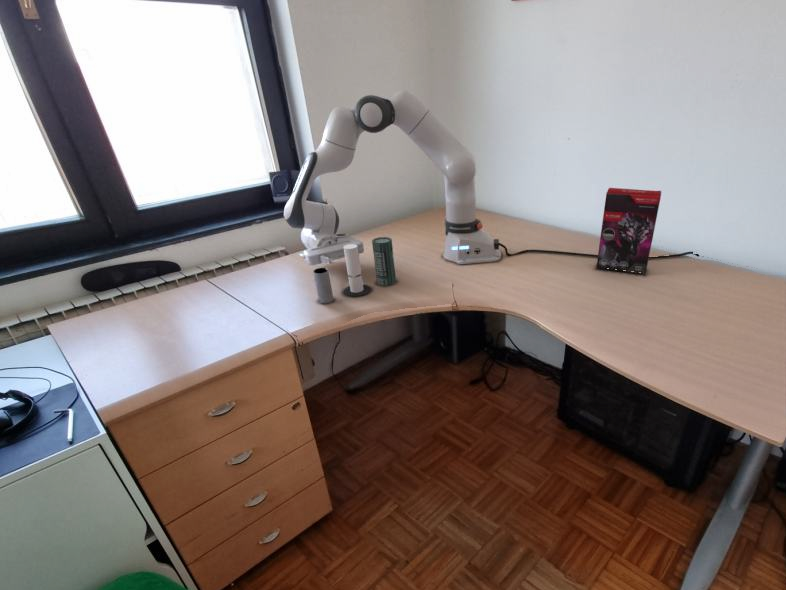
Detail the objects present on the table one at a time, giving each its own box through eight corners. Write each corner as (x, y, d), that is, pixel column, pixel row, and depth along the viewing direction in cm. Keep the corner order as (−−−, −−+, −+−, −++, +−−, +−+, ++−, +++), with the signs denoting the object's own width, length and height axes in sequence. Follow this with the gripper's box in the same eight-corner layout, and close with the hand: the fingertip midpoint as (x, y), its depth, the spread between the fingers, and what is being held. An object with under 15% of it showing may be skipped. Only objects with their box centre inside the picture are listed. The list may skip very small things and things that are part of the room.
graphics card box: (594, 269, 163) (606, 191, 148) (597, 262, 168) (608, 186, 154) (645, 276, 157) (662, 195, 143) (646, 268, 163) (662, 190, 148)
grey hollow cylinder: (336, 298, 147) (331, 268, 142) (328, 304, 143) (322, 274, 138) (324, 296, 148) (318, 266, 143) (316, 302, 145) (310, 272, 139)
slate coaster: (373, 285, 155) (373, 284, 155) (368, 296, 148) (368, 295, 147) (347, 285, 155) (347, 284, 155) (341, 297, 148) (340, 295, 148)
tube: (351, 287, 153) (344, 244, 145) (364, 286, 153) (357, 243, 145) (349, 292, 149) (342, 249, 142) (362, 292, 150) (356, 248, 142)
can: (398, 280, 158) (394, 238, 150) (389, 287, 154) (384, 244, 146) (383, 277, 161) (379, 236, 153) (374, 284, 156) (368, 241, 148)
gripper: (296, 245, 153) (312, 256, 144) (351, 232, 164) (370, 242, 155) (300, 262, 157) (316, 274, 147) (354, 249, 167) (372, 259, 158)
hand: (344, 258), depth 151 cm, fingers open, 8 cm apart
